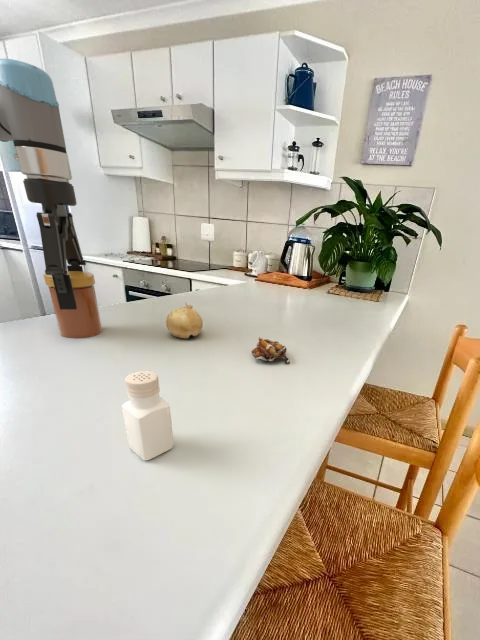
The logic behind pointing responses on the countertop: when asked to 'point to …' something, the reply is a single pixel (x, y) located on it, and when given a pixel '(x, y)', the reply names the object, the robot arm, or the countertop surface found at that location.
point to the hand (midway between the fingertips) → (75, 302)
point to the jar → (78, 314)
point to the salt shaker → (147, 416)
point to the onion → (184, 322)
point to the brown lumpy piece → (270, 350)
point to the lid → (74, 279)
